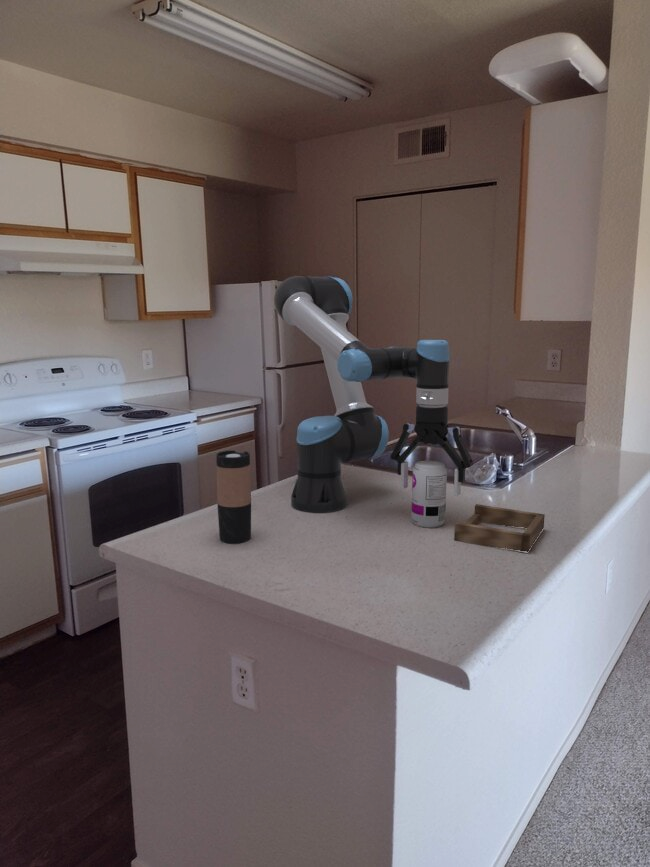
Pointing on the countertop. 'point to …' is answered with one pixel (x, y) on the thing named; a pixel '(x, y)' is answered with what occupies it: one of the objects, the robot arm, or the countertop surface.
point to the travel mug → (234, 496)
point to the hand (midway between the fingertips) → (430, 491)
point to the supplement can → (429, 494)
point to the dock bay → (500, 537)
